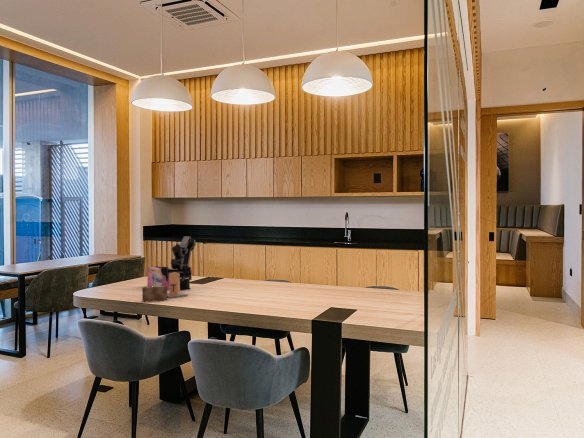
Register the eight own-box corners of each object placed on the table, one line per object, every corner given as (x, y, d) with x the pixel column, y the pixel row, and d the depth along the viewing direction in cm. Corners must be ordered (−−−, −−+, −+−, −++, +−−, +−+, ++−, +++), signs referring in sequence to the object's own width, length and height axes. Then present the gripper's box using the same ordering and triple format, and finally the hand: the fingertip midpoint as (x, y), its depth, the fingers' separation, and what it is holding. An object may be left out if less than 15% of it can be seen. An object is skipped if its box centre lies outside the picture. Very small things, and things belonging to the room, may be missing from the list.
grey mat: (179, 293, 291) (179, 291, 291) (187, 295, 282) (187, 294, 282) (161, 295, 284) (161, 293, 284) (169, 298, 275) (169, 296, 275)
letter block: (171, 293, 286) (171, 272, 285) (179, 293, 285) (179, 272, 285) (169, 294, 280) (169, 274, 280) (177, 294, 280) (177, 274, 280)
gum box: (146, 285, 322) (146, 266, 322) (156, 284, 328) (156, 265, 328) (162, 289, 305) (162, 269, 305) (172, 288, 311) (172, 268, 310)
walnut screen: (167, 298, 273) (166, 285, 273) (167, 300, 268) (167, 286, 268) (142, 300, 269) (142, 286, 269) (142, 301, 264) (142, 288, 264)
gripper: (161, 254, 287) (156, 273, 276) (190, 254, 287) (186, 273, 276) (165, 264, 295) (160, 284, 284) (193, 264, 295) (189, 284, 284)
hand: (174, 281), depth 282 cm, fingers open, 9 cm apart
